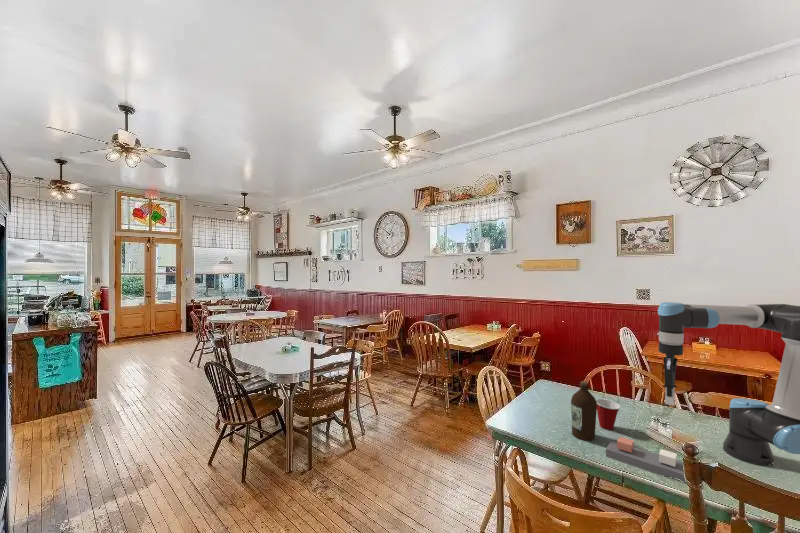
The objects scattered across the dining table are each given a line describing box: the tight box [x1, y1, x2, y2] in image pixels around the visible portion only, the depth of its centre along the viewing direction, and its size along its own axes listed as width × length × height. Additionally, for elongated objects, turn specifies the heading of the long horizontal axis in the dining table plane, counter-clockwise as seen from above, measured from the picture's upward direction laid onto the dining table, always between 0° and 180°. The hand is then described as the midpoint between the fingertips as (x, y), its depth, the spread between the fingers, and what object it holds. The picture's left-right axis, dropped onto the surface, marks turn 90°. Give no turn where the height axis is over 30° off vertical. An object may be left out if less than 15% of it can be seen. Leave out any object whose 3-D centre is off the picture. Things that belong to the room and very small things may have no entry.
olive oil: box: [570, 380, 598, 442], centre depth 163 cm, size 11×11×25 cm
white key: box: [658, 448, 678, 467], centre depth 136 cm, size 5×5×3 cm
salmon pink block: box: [616, 436, 635, 453], centre depth 146 cm, size 5×5×3 cm
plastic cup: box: [595, 398, 621, 431], centre depth 171 cm, size 11×11×12 cm
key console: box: [605, 439, 686, 484], centre depth 141 cm, size 26×10×3 cm, turn 47°
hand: (669, 404), depth 135 cm, fingers closed
